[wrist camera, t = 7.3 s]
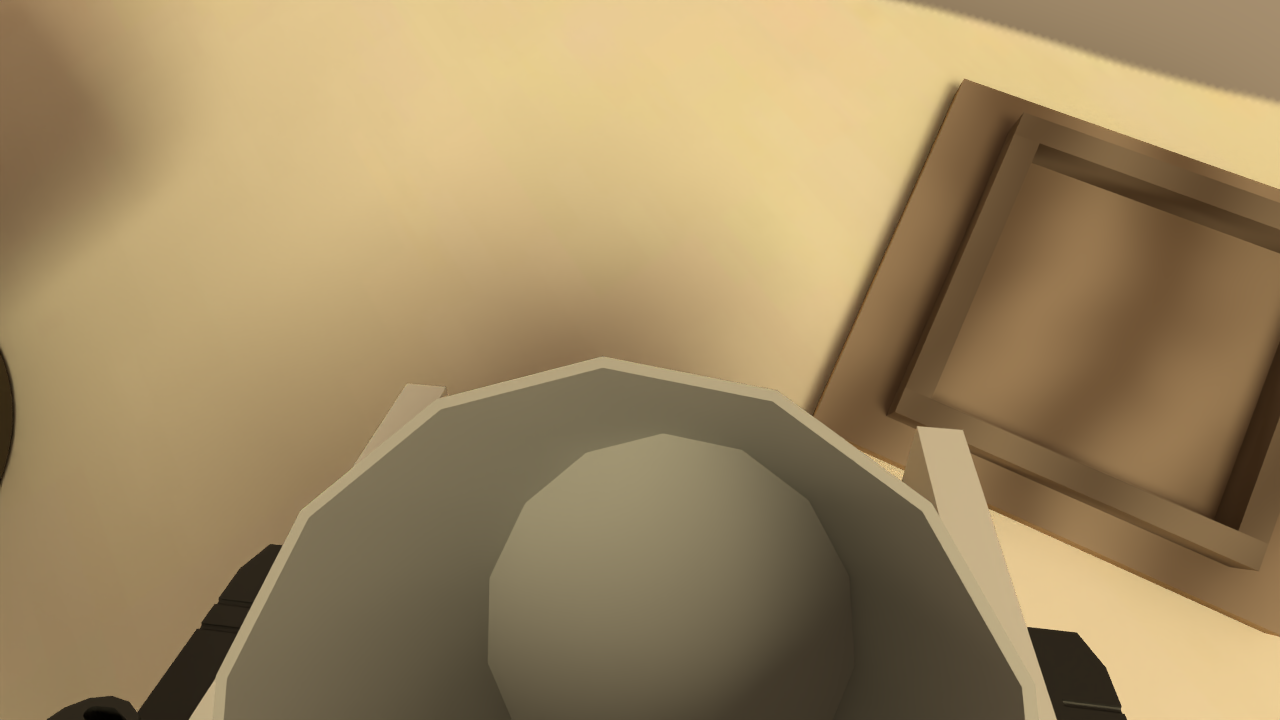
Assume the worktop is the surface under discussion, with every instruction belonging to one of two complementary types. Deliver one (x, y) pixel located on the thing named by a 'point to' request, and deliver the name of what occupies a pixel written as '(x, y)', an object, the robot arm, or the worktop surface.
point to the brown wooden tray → (1086, 345)
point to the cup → (620, 571)
